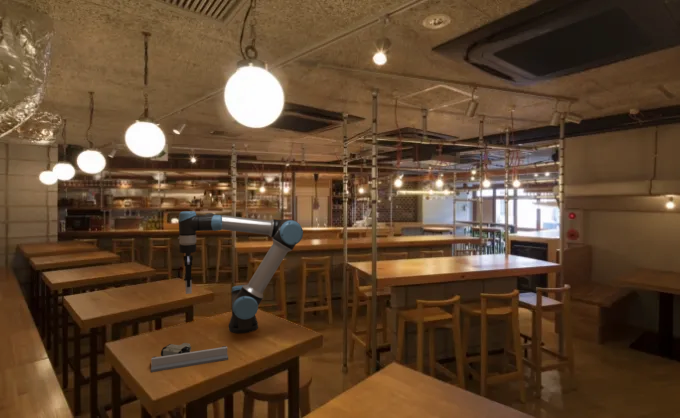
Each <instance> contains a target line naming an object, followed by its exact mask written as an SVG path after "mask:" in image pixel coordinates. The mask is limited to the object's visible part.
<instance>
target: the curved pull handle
mask: <svg viewBox="0 0 680 418" xmlns="http://www.w3.org/2000/svg"><path fill="white" fill-rule="evenodd" d="M150 361H151V363H150V364H151V365H150V366H151V368H150V373H156V372H161V371H168V370H173V369H179V368H186V367H192V366H198V365H205V364H210V363H217V362H222V361H229V356H228V346H226V345H223V346H221V347H214V348H208V349H203V350H196V351H190V352H188V353H181V354H174V355H168V356H161V355H160V356H152V357H151V359H150Z"/></svg>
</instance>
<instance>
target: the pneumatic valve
mask: <svg viewBox="0 0 680 418" xmlns="http://www.w3.org/2000/svg"><path fill="white" fill-rule="evenodd" d="M191 350H192V346H191V343H188V342H183V343H181V344H173V343H170V344H168V345H166V346H164V347H162V349H161V350H160V357H161V356H168V355H174V354H181V353H188V352H191Z"/></svg>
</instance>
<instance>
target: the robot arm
mask: <svg viewBox="0 0 680 418" xmlns="http://www.w3.org/2000/svg"><path fill="white" fill-rule="evenodd" d="M205 231H206V232H212V231H213V232H216V231H217V232H218V231H233V232H241V233H250V234H258V235H268V236H269V237H270V238H272V244H271V246H270V248H269V249H268V251H267V253H266V254H265V256H264V257H263V259H262V260H261V262H260V264H259V266H258V267H257V269H256V270H255V272H254V274H252V277H251V278H250V280H249V281H248V283H247V284H241V285H235V286H232V287H231V291H230V292H231V317H230V321H229V323H228V332H230V333H234V334H247V333H252V332H255V331H256V330H258V328H259V322H258V320H257V316H256V314H257V312H258V310H259V306H260V304H261V302H262V300H263V298H264V295H263V293H264V292H265V289H266V288H267V286H268V285H269V283H270V281H271V280H272V278H273V277H274V275H275V273H276V272H277V270H278V268H279V267H280V265H281V263H282V262H283V260H284V259H285V257H286V256H287V254H288V252H291V251H293V250H294V248H295V247H296V245H298V243H300V242H301V241H302V239H303V236H304V231H303V227H302V225H300V223H298V221H296V220H293V219H285V218H283V219H275V218H272V219H270V220H269V219H268V220H267V219H260V218H259V219H258V218H252V217H251V218H249V217H240V216H232V215H224V214H223V215H222V214H215V213H207V214H205V215H203V214H202V215H200V214H199V215H198V214H197V212H196V211H189V210H188V211H187V210H186V211H181V212H179V214H178V233H179V234H178V237H177V240H179V243H178V244H179V246H178V249H179V251H178V252H179V253H180V254H185V255H183V262H184V267H185V270H184V272H185V275H184V276H185V277H184V279H183V281H185V295H187V294H189V295H190V294H193V290H192V289H193V287H192V286H193V283H192V279H194V278H193V276H192V266H193V259H194V258H193V255H192V254H193V253H196V252H197V232H205Z"/></svg>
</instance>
